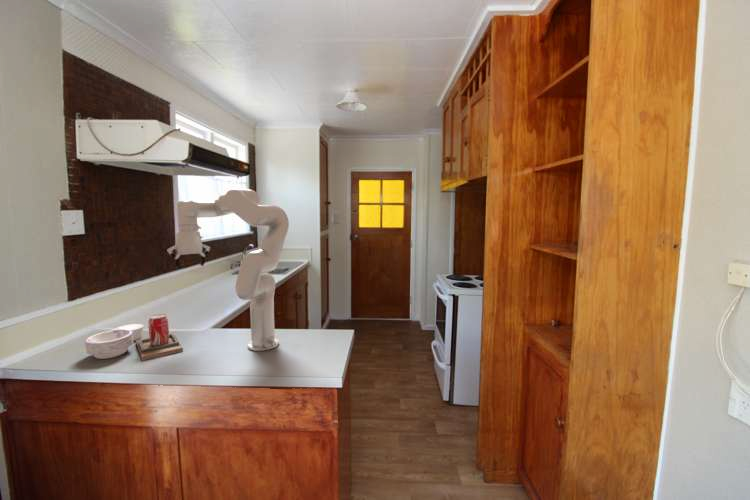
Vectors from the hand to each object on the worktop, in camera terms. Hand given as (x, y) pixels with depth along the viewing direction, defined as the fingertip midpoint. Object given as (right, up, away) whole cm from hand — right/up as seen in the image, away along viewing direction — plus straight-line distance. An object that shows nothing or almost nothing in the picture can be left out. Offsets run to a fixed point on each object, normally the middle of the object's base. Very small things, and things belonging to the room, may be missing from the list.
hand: (190, 266), depth 157 cm
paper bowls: (-23, -35, -17) cm, 45 cm away
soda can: (-8, -32, -10) cm, 35 cm away
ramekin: (-27, -33, 0) cm, 43 cm away
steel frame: (-8, -32, -10) cm, 35 cm away
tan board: (-8, -34, -10) cm, 36 cm away
